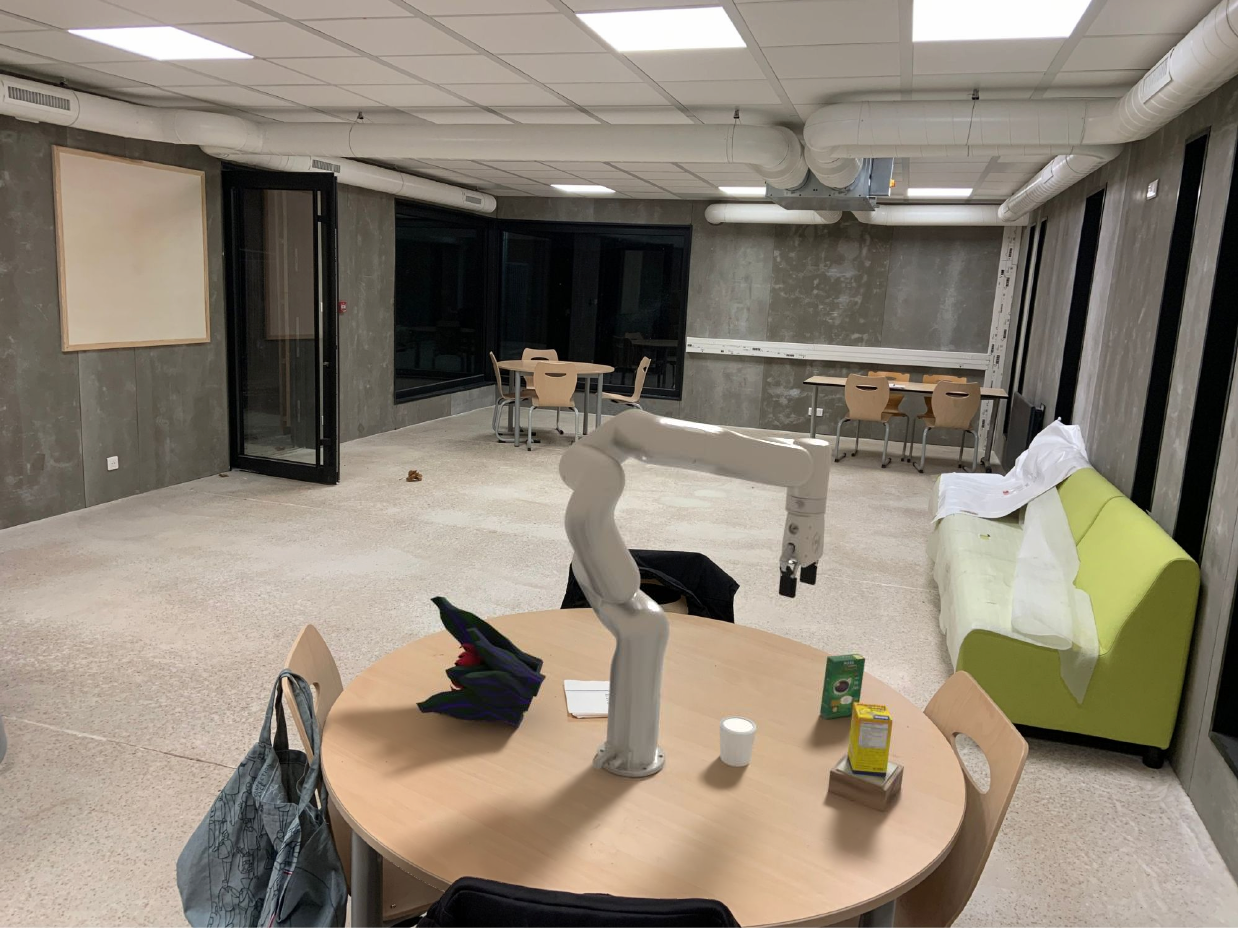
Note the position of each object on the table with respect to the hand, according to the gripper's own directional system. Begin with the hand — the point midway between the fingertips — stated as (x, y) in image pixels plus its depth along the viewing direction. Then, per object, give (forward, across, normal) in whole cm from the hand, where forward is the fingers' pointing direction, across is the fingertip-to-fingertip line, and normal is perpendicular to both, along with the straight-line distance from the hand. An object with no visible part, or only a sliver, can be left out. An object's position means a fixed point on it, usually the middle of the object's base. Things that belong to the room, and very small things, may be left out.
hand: (797, 589), depth 171 cm
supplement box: (+26, -9, -20) cm, 34 cm away
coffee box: (+31, +15, -6) cm, 35 cm away
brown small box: (+30, -9, -20) cm, 37 cm away
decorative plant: (+31, -34, +53) cm, 70 cm away
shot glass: (+31, -15, +3) cm, 34 cm away
